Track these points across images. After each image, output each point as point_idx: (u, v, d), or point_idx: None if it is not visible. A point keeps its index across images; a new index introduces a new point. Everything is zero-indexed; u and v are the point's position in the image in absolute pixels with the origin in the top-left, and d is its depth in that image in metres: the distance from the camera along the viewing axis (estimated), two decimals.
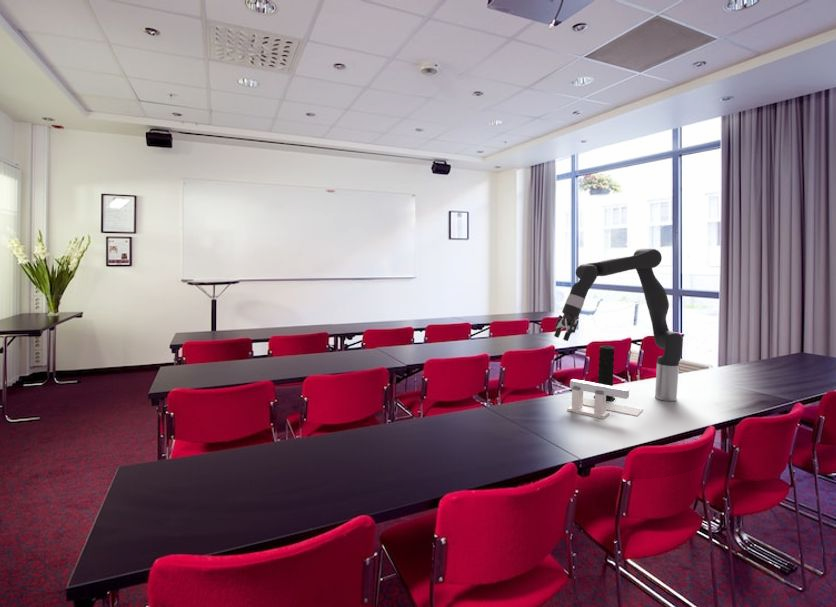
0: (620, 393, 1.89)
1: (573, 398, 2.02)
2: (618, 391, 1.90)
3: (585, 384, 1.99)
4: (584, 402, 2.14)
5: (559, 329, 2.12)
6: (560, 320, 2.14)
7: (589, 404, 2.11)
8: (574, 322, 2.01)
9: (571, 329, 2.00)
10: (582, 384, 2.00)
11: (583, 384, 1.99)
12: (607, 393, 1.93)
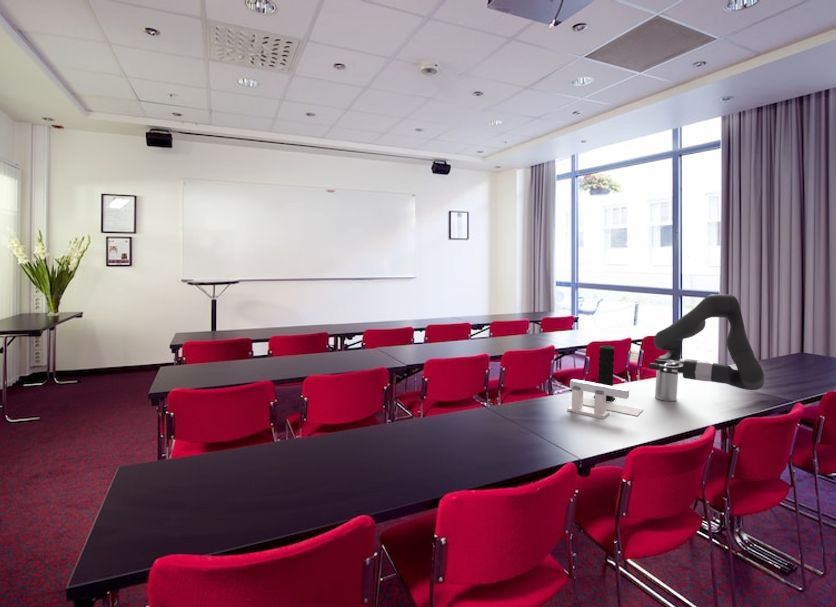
0: (620, 393, 1.89)
1: (573, 398, 2.02)
2: (618, 391, 1.90)
3: (585, 384, 1.99)
4: (584, 402, 2.14)
5: None
6: (670, 369, 1.72)
7: (589, 404, 2.11)
8: None
9: None
10: (582, 384, 2.00)
11: (583, 384, 1.99)
12: (607, 393, 1.93)
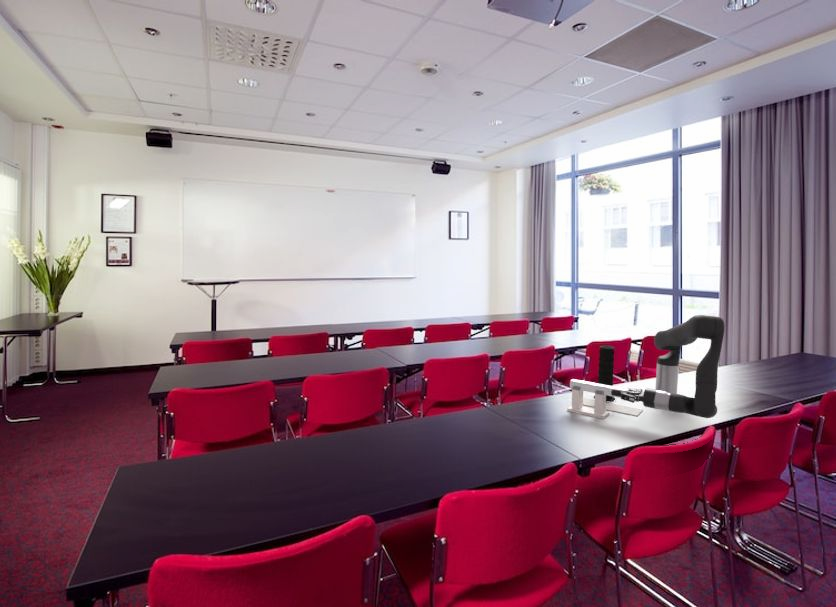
0: None
1: (573, 398, 2.02)
2: None
3: (585, 384, 1.99)
4: (584, 402, 2.14)
5: None
6: (628, 397, 1.84)
7: (589, 404, 2.11)
8: None
9: None
10: (582, 384, 2.00)
11: (583, 384, 1.99)
12: (607, 393, 1.93)
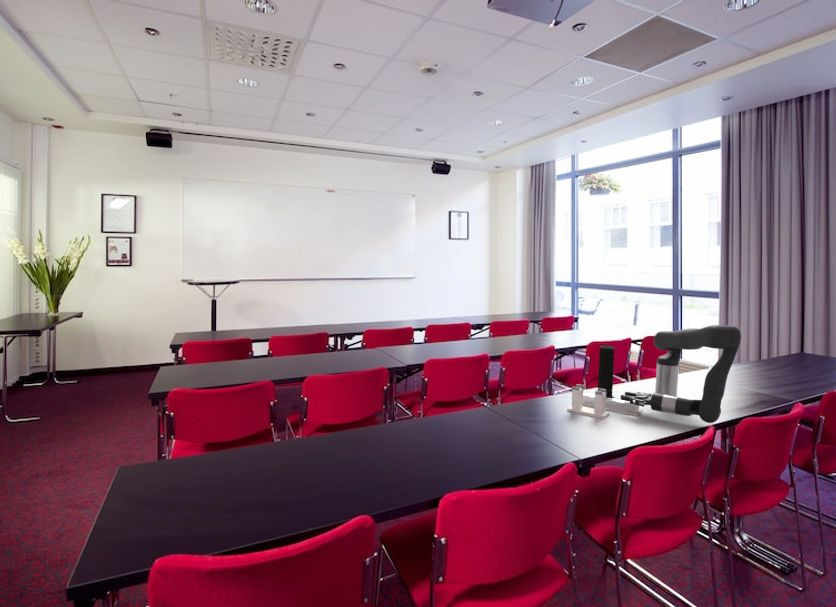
0: (631, 408, 2.00)
1: (573, 398, 2.02)
2: (628, 406, 2.01)
3: None
4: (584, 402, 2.14)
5: None
6: (638, 401, 1.94)
7: (589, 404, 2.11)
8: None
9: None
10: (594, 398, 2.11)
11: None
12: (618, 407, 2.04)
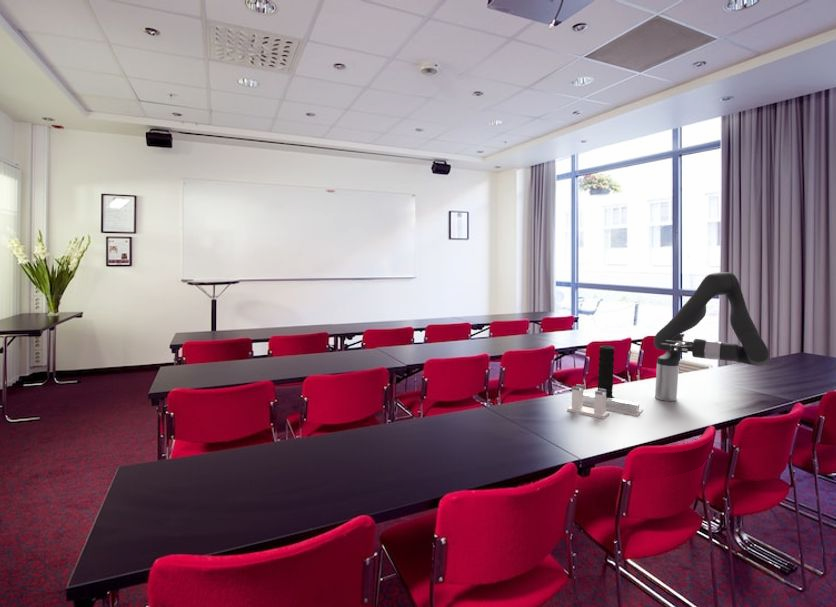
0: (631, 408, 2.00)
1: (573, 398, 2.02)
2: (628, 406, 2.01)
3: None
4: (584, 402, 2.14)
5: None
6: (680, 348, 1.82)
7: (589, 404, 2.11)
8: None
9: None
10: (594, 398, 2.11)
11: None
12: (618, 407, 2.04)
